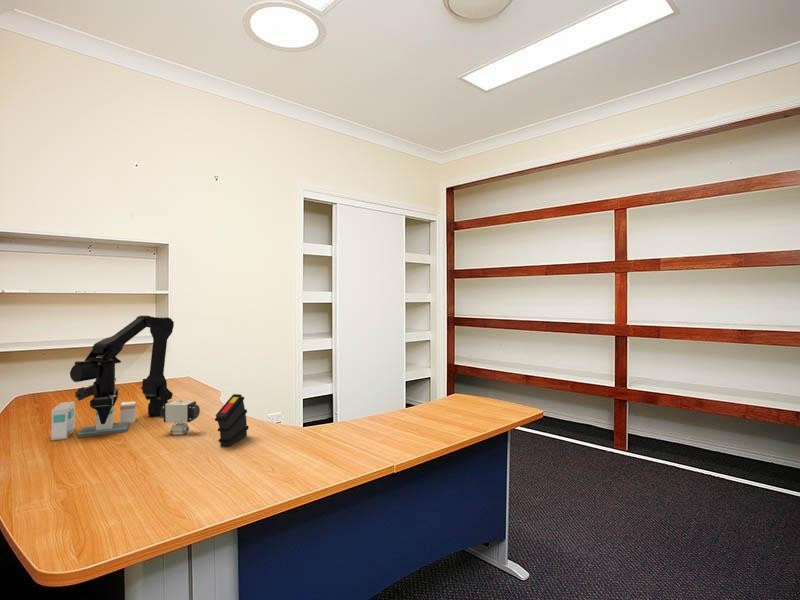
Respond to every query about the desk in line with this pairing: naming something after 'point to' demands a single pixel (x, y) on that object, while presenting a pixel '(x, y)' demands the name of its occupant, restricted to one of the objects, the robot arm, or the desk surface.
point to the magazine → (232, 421)
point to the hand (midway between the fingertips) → (105, 420)
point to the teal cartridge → (108, 423)
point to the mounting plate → (115, 429)
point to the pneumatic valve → (180, 415)
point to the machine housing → (63, 420)
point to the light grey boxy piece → (128, 412)
